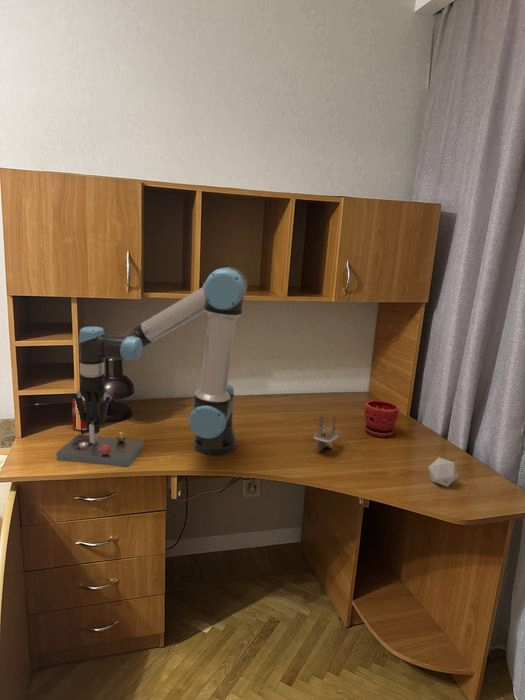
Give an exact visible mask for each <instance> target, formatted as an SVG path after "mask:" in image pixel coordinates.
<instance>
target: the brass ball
mask: <svg viewBox="0 0 525 700" xmlns="http://www.w3.org/2000/svg"><path fill="white" fill-rule="evenodd" d="M115 438H116V439H117V440H118V441H120V442H122V441H124V440H125V439H127V434H126V432H124V431H118V432H117V433H116V434H115Z"/></svg>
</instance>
